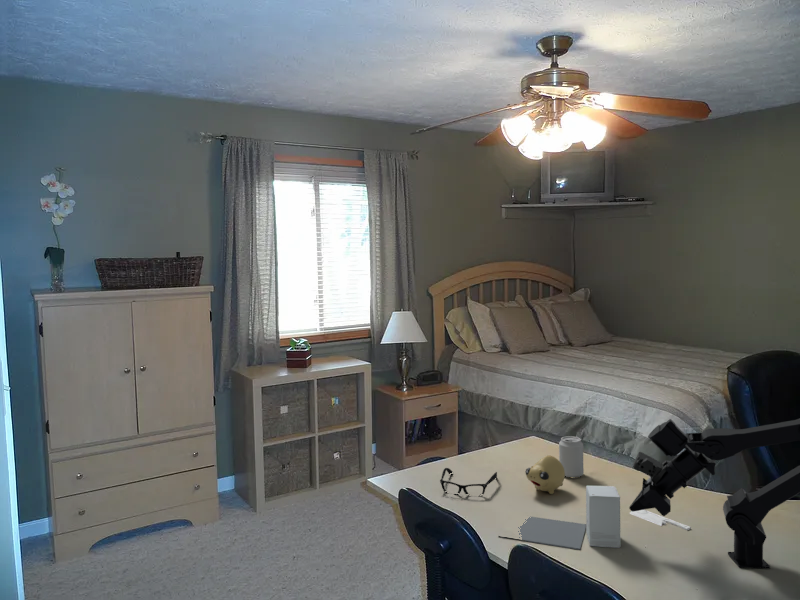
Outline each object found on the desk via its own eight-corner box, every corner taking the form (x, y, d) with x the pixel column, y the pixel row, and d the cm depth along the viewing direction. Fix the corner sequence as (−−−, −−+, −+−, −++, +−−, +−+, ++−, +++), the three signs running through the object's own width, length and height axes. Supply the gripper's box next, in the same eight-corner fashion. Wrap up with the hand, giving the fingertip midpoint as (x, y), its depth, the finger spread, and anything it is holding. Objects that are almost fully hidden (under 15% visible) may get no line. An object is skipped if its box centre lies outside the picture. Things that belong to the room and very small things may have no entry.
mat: (586, 525, 157) (586, 524, 156) (580, 549, 144) (580, 548, 144) (510, 514, 164) (510, 513, 164) (498, 537, 152) (498, 535, 152)
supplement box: (621, 548, 144) (620, 497, 143) (589, 546, 145) (588, 495, 144) (616, 534, 151) (616, 485, 150) (585, 532, 152) (585, 484, 152)
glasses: (435, 497, 181) (435, 481, 181) (449, 474, 198) (448, 459, 197) (490, 502, 176) (489, 486, 175) (499, 478, 193) (499, 463, 192)
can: (554, 473, 195) (553, 437, 194) (572, 469, 198) (572, 433, 197) (570, 480, 188) (569, 443, 187) (588, 476, 191) (588, 439, 190)
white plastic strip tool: (679, 535, 150) (679, 531, 150) (627, 515, 163) (627, 511, 163) (690, 530, 153) (690, 525, 153) (639, 510, 165) (639, 506, 165)
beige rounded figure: (519, 492, 180) (519, 457, 179) (543, 481, 188) (543, 448, 187) (547, 501, 172) (546, 465, 172) (571, 490, 180) (570, 455, 179)
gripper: (654, 432, 150) (608, 470, 156) (654, 456, 133) (602, 498, 138) (689, 467, 148) (641, 504, 153) (693, 495, 131) (639, 536, 136)
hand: (630, 509), depth 145 cm, fingers closed
